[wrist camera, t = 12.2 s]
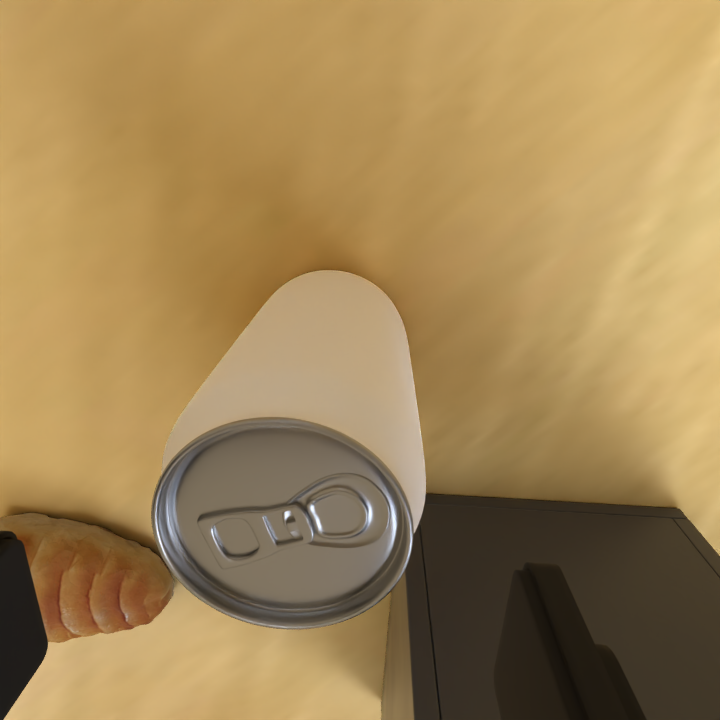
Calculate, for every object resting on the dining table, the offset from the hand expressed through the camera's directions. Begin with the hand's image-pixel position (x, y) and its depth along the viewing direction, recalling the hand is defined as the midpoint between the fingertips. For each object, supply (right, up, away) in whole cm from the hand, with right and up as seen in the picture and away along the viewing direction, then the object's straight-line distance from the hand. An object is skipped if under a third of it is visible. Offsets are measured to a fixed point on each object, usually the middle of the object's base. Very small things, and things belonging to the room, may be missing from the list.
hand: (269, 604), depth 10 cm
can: (+1, +6, +12) cm, 14 cm away
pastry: (-13, -6, +18) cm, 23 cm away
